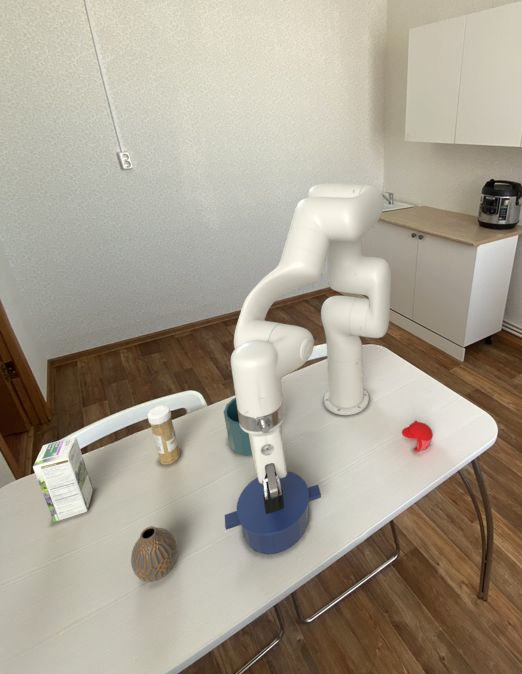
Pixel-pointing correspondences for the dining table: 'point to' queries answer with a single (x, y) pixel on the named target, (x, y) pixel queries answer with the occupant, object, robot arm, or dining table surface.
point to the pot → (236, 430)
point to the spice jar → (164, 434)
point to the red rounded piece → (419, 434)
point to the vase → (154, 554)
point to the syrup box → (63, 478)
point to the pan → (277, 541)
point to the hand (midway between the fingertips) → (270, 487)
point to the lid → (275, 522)
